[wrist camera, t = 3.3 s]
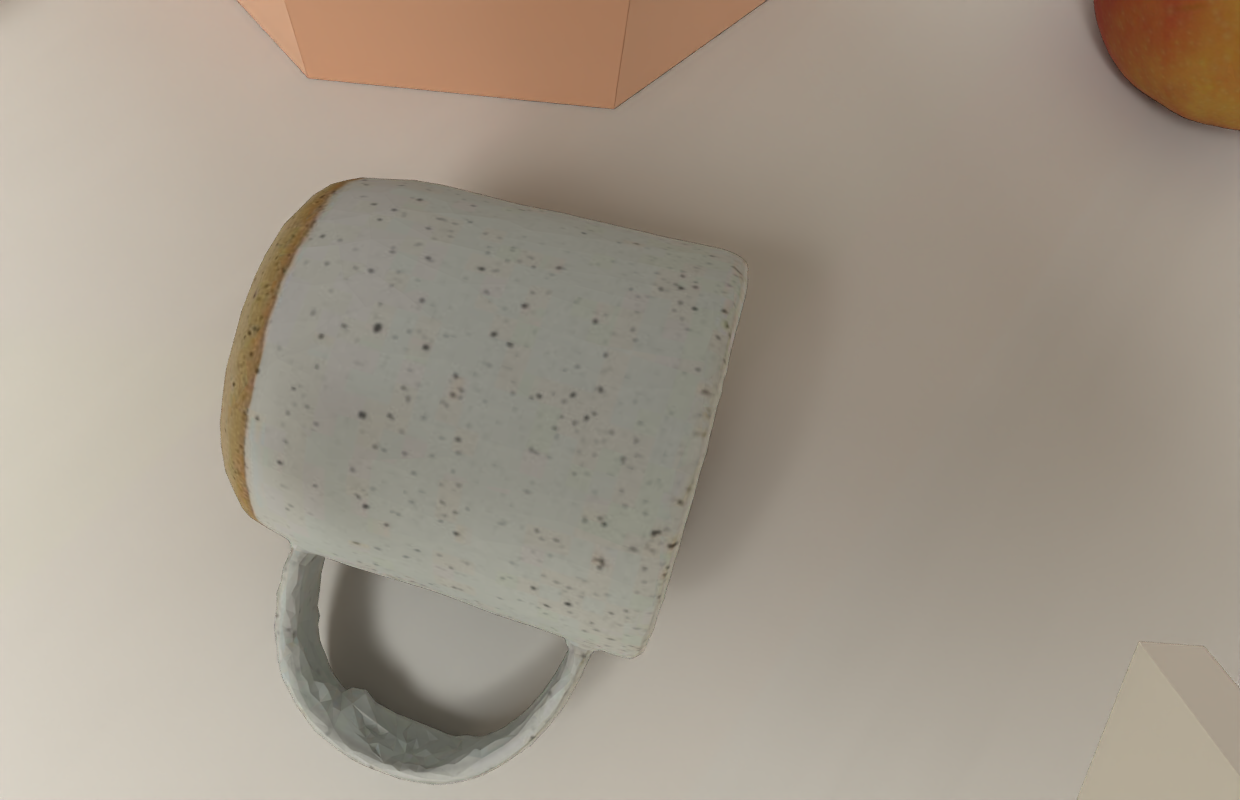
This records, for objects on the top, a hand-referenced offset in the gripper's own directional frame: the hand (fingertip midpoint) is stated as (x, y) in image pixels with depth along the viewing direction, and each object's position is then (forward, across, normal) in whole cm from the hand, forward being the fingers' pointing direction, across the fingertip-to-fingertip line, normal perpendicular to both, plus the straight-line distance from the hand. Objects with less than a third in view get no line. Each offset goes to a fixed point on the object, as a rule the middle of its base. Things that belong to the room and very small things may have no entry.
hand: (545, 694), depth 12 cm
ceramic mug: (+10, -1, -4) cm, 11 cm away
